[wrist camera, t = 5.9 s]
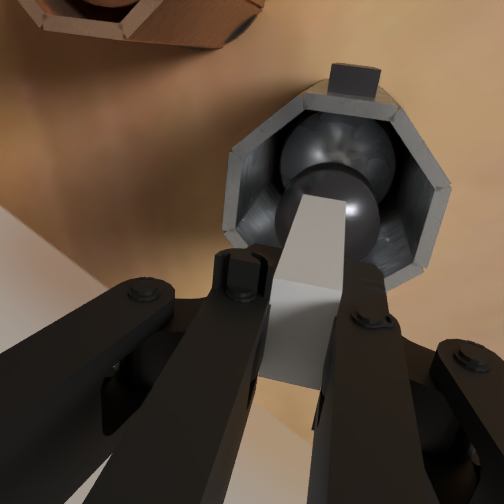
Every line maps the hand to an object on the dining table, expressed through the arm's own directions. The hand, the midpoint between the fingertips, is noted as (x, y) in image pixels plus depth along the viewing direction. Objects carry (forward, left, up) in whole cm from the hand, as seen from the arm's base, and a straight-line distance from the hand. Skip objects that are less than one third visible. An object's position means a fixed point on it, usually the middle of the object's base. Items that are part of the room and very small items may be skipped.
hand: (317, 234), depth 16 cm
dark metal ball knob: (0, 0, -12) cm, 12 cm away
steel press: (0, 0, -17) cm, 17 cm away
